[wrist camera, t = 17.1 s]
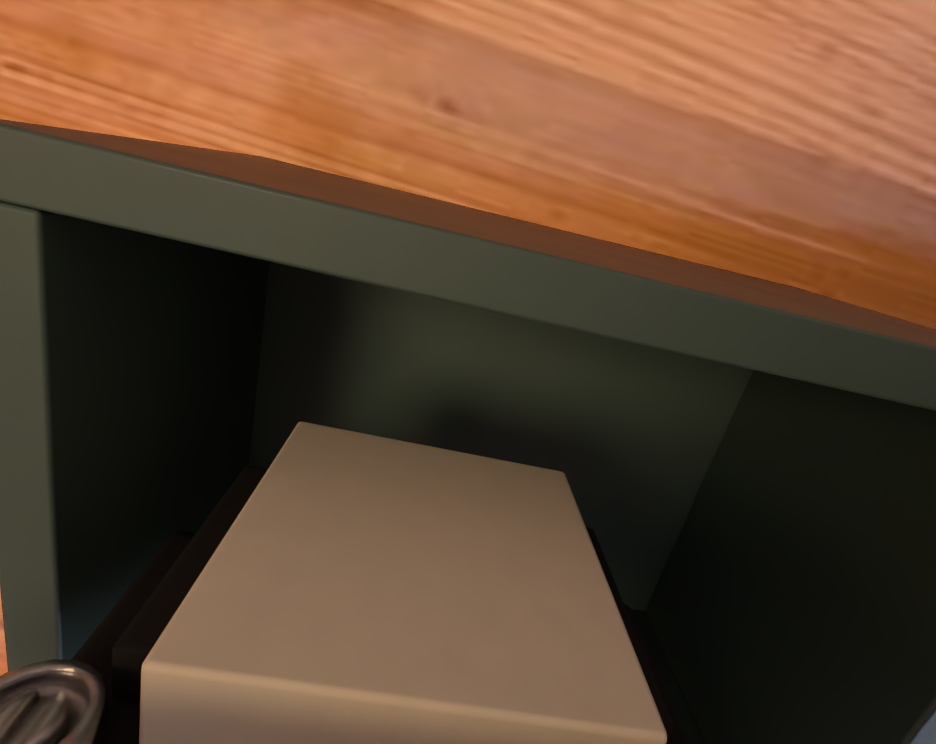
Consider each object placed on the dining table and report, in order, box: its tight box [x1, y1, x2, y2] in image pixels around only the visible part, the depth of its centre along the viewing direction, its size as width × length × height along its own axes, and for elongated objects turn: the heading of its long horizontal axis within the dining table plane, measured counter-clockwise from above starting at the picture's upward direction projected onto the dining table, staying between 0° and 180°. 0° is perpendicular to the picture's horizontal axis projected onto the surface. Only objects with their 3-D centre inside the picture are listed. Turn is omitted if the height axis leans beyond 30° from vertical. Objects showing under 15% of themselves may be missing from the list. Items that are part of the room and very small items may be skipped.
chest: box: [0, 119, 936, 744], centre depth 12 cm, size 16×13×9 cm
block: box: [139, 422, 667, 744], centre depth 8 cm, size 5×5×5 cm
